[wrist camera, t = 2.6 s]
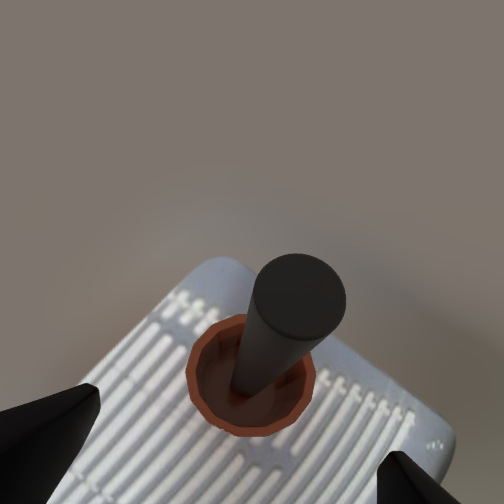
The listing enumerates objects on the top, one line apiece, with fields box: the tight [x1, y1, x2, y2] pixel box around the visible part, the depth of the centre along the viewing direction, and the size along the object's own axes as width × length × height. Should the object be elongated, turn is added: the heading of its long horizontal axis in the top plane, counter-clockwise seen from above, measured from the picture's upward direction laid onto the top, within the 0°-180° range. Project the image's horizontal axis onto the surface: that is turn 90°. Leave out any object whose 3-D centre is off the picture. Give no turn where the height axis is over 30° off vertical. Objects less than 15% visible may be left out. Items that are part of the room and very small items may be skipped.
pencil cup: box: [185, 314, 316, 437], centre depth 16 cm, size 6×6×5 cm
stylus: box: [231, 254, 346, 397], centre depth 11 cm, size 2×2×14 cm
